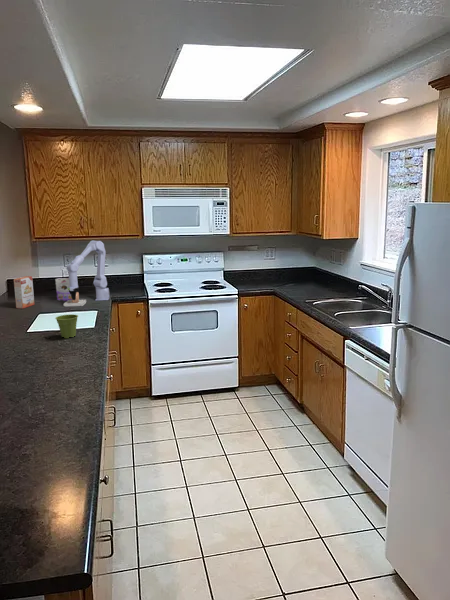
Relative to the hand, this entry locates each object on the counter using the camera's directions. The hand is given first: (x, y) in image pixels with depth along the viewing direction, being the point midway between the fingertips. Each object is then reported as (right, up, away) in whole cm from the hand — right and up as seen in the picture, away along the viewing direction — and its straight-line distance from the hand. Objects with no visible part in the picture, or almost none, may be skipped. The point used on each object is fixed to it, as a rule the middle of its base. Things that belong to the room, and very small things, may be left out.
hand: (74, 299), depth 351 cm
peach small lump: (0, -2, 0) cm, 2 cm away
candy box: (-11, -1, +18) cm, 21 cm away
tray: (0, -4, +1) cm, 4 cm away
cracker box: (-34, -6, -3) cm, 34 cm away
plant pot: (+22, -21, -84) cm, 90 cm away
